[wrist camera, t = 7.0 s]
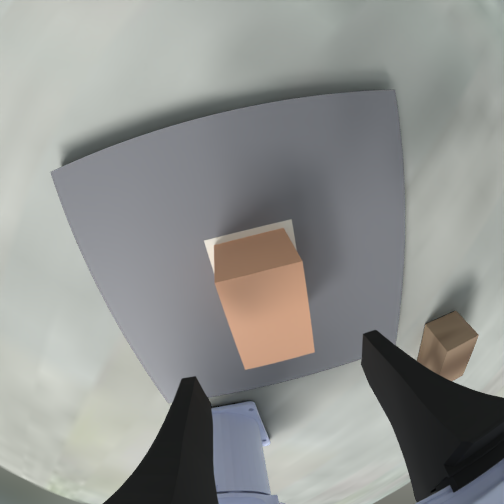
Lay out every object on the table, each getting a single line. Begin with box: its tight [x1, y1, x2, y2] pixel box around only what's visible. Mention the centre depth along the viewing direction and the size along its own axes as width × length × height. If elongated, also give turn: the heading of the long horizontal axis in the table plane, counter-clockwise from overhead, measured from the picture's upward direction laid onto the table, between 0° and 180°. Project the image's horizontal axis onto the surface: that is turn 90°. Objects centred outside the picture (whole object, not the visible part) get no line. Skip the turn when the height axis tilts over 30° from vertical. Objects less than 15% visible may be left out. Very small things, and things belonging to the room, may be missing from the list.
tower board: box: [51, 90, 405, 403], centre depth 19 cm, size 20×20×1 cm
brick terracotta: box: [214, 228, 315, 370], centre depth 16 cm, size 6×4×4 cm, turn 12°
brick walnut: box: [417, 311, 478, 381], centre depth 24 cm, size 6×4×4 cm, turn 12°
